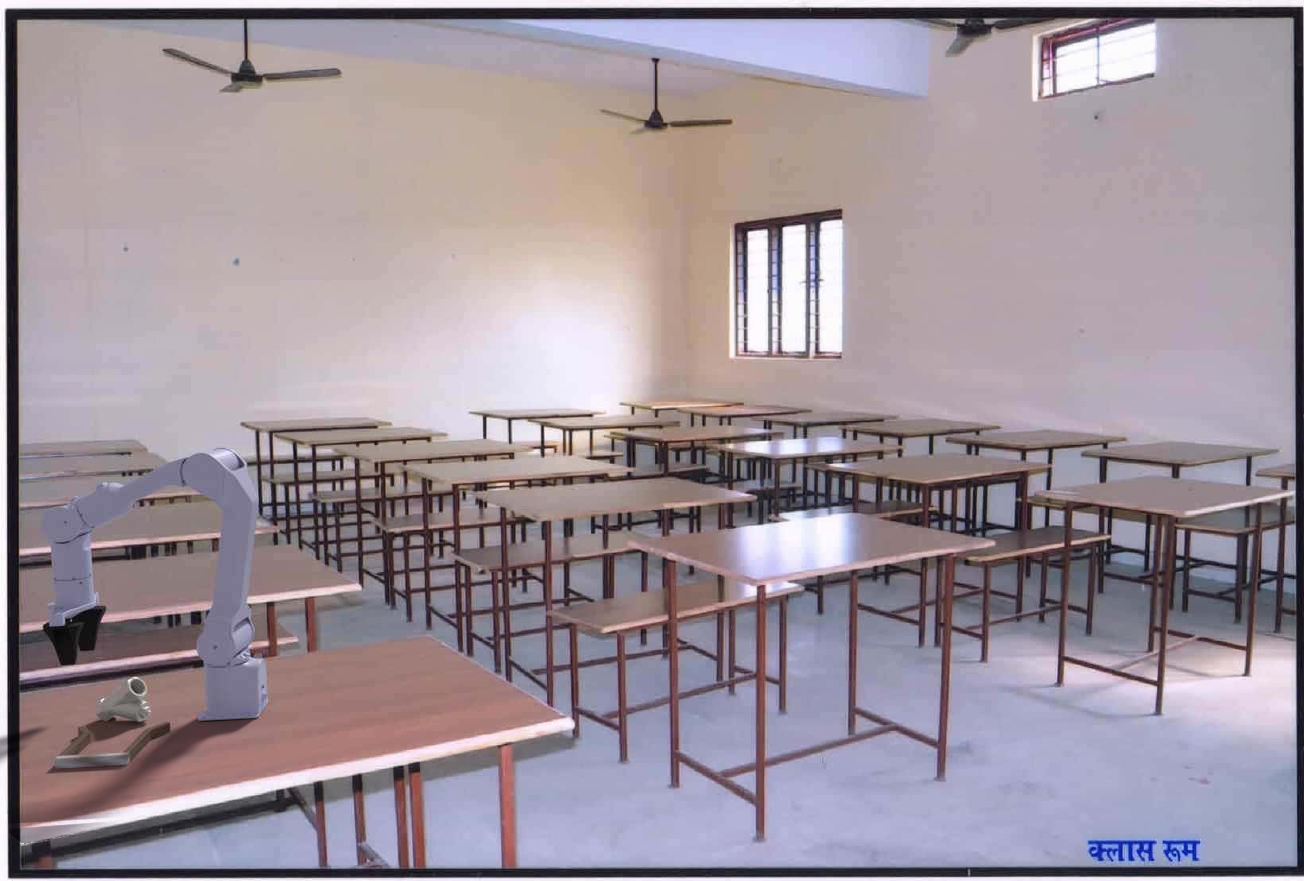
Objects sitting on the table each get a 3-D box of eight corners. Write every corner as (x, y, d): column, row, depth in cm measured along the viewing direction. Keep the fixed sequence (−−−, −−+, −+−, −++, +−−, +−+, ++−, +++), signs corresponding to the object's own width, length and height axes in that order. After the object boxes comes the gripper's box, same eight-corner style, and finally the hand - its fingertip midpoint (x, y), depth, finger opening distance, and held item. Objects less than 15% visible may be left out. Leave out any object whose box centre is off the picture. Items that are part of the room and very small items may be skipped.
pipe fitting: (162, 708, 168) (140, 674, 168) (146, 717, 164) (123, 682, 164) (129, 732, 170) (107, 698, 170) (112, 741, 166) (89, 706, 166)
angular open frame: (171, 730, 163) (171, 721, 163) (141, 764, 150) (140, 754, 150) (79, 735, 161) (79, 725, 161) (40, 769, 148) (40, 759, 148)
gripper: (65, 568, 174) (71, 645, 176) (26, 588, 160) (32, 672, 161) (109, 566, 175) (114, 643, 177) (74, 586, 161) (79, 670, 162)
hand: (78, 657), depth 169 cm, fingers open, 7 cm apart
